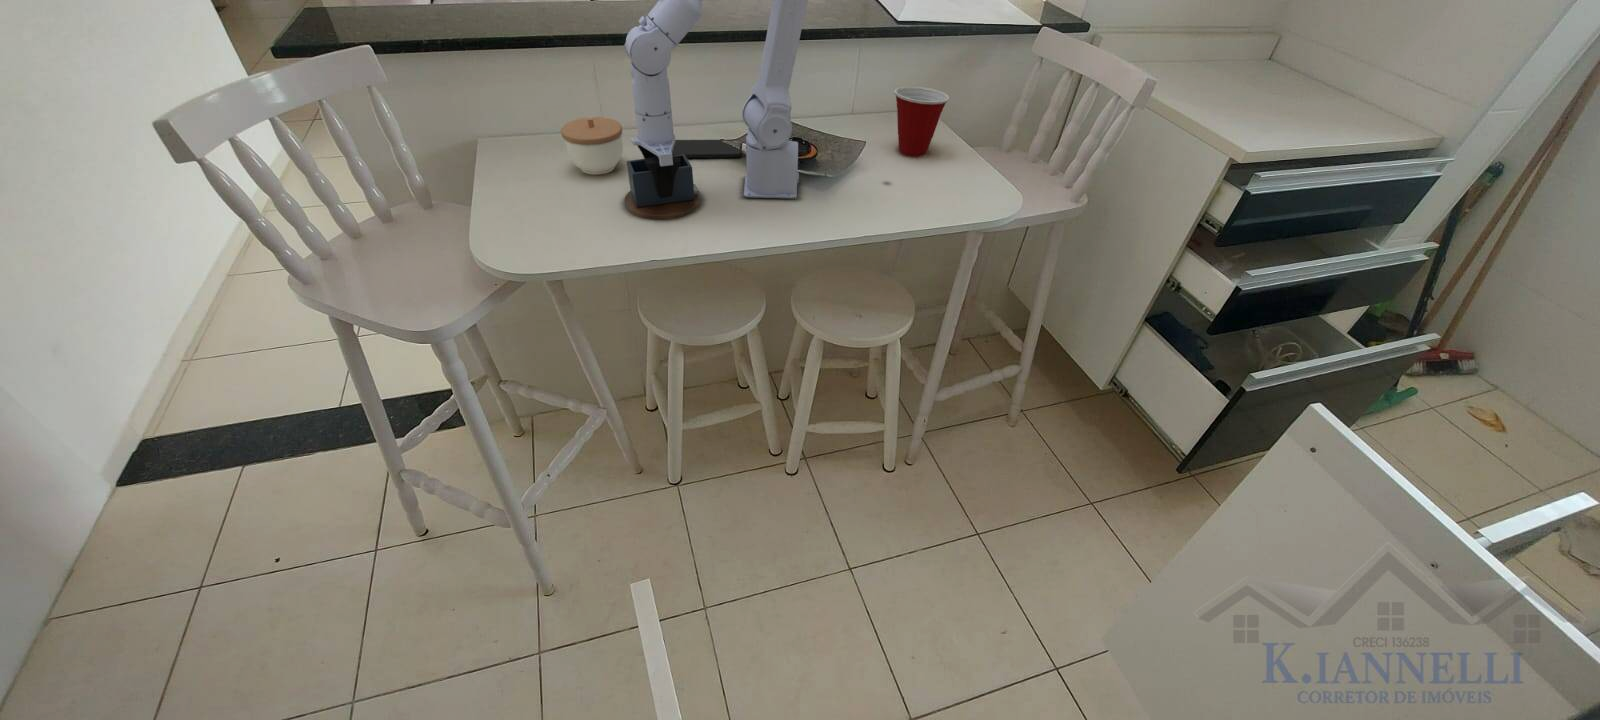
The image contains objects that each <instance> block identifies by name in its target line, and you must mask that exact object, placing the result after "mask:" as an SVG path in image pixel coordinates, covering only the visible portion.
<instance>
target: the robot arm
mask: <svg viewBox="0 0 1600 720" xmlns="http://www.w3.org/2000/svg"><path fill="white" fill-rule="evenodd" d="M703 1H704V0H658V1H657V2H656V4H655V5H654V6H653V7H652V9H651V10H650V11H649V13H648V14H647V15H646V16H645V17H644V15H642V16H641V17H640V18H639V19H638V23H639V25H638V26H636V25H635V26H634V27H632V28H631V29H630V30H629V31H628V33H627V35H626V38H625V43H624V44H623V47H624V50H625V53H626V55H627V56H628V58H629V59H630V60H631V62H630V75H631V88H632V89H631V90H632V97H633V103H634V104H633V105H634V111H635V120H636V128H637V136H632V137H631V143H632V145H633V146H637V148H638V149H639V151H640V153H641V155H642V156H643V159H644V161H645V163H646V165H647V166H648V168H649V169H650V171H651V173H652V175H653V178H654V182H655V185H656V189H657V192H658V195H659V197H660V198H666V197H672V193H673V187H674V179H675V175H676V172H677V170H678V167H679V166H680V163H681V160H680V158H679V156H676V157H672V150H673V147H674V144H675V140H676V135H675V134H674V123H673V112H672V111H673V110H672V99H671V90H670V80H669V78H668V69H667V68H668V67H669V66H670V63H671V59H672V50H674V49H675V48H677V46H678V45H679V44H680V42H681V41H682V40H683V39H684V38H685V37H686V35H687V34H688V33H689V32H690V31H691V29H692V28H693V27H694V26H695V24H696V23H697V22H698V21H699V20H700V18H701V17H702V16H703ZM808 1H809V0H772V5H771V9H770V14H769V20H768V24H767V25H768V26H767V31H766V37H765V42H764V47H763V52H762V57H761V62H760V63H761V64H760V68H759V73H758V79H757V80H756V81H755V82H754V84H753V85H752V86H751V90H750V93H749V96H748V99H746V101H745V102H744V104H743V106H742V111H741V117H742V121H743V122H744V124H745V126H747V127H748V131H747V133H746V135H745V136H746V137H745V159H746V160H745V161H746V162H745V164H746V167H745V169H746V176H745V177H744V189H743V197H744V198H758V199H759V198H760V199H796V198H798V184H799V183H800V173H799V171H798V170H799V169H798V168H799V142H798V141H793V140H790V138H791V136H792V133H793V123H792V120H791V114H792V113H791V112H792V109H793V108H792V107H793V106H792V100H791V99H792V98H791V95H790V87H791V86H790V85H791V79H792V75H793V71H794V66H795V62H796V58H797V57H796V56H797V52H798V49H799V44H800V39H801V33H802V29H803V26H804V25H803V24H804V20H805V16H806V11H807V5H808Z"/></svg>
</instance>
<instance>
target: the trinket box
mask: <svg viewBox="0 0 1600 720" xmlns="http://www.w3.org/2000/svg"><path fill="white" fill-rule="evenodd" d="M560 132H561V136H562V139H563V143H564V147H565V151H566V153H567V156H568V157H569V159H570V160H571V162H572V163H573V164H574V165H575V166H576V167H577V168H579V169H580V170H581V171H582V172H583V173H585V174H586V175H587V174H588V175H592V176H598V175H599V176H600V175H605V174H609V173H611V172H613V171H614V170H615V169H616V166H617V165H618V164H619V162H620V161H621V159H622V156H623V151H624V137H623V126H622V124H621V123H620V122H619V121H617V120H615V119H613V118H607V117H601V116H591V117H582V118H577V119H573V120H571V121H568V122H566V123H565V124H563V126H562V127H561V129H560Z"/></svg>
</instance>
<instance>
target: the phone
mask: <svg viewBox="0 0 1600 720" xmlns="http://www.w3.org/2000/svg"><path fill="white" fill-rule="evenodd" d="M723 140H724V139H675V144H674V147H673V150H672V156H673V155H681V154H685V156H686V157H687V159H690V158H691V159H693V158H694V159H696V158H700V159H701V158H702V159H703V158H704V159H705V158H707V159H709V158H740V157H742V149H741V150H740V149H738V148H736V147H733V146H732V145H729V144H727V143H724V142H722V141H723ZM726 140H727V141H733V140H734V139H726Z"/></svg>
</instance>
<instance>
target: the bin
mask: <svg viewBox="0 0 1600 720" xmlns="http://www.w3.org/2000/svg"><path fill="white" fill-rule="evenodd" d="M676 156H679V158H680V160H681V163H680V166H679V167H678V170H677V172H676V175H675V179H674V187H673V193H672V197H666V198H660V197H659V195H658V192H657V189H656V185H655V182H654V178H653V175H652V173H651V171H650V169H649V168H648V166H647V165H646V163H645V161H644V158H639V159H631V160H626V167H627V174H628V181H629V188H630V191H631V194H632V197H633V199H634V202H635V204H636V207H642V206H650V205H657V204H664V203H671V202H679V201H686V200H693V199H694V194H700V190H699V188H698V186H697V185H696V183H694V174H693V166H692V164H691V162H690V161H689V160H688V159H689V158H687V157H686V156H685V154H681V155H673V156H672V157H676Z"/></svg>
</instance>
